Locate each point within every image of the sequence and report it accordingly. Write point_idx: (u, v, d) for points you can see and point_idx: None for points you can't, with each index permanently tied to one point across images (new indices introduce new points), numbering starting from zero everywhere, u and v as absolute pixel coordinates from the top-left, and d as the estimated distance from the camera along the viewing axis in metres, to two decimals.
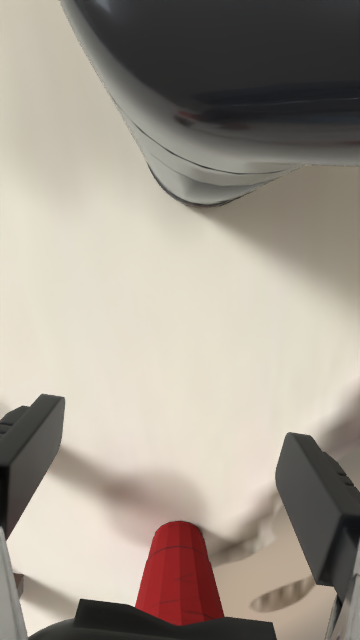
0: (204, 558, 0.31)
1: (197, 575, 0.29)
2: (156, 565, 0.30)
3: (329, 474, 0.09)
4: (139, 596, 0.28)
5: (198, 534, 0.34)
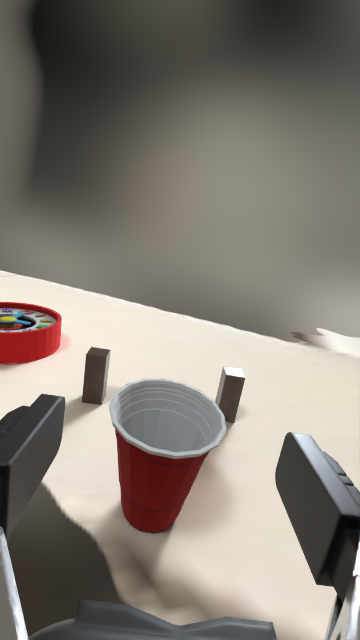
0: (183, 500, 0.29)
1: (198, 471, 0.30)
2: None
3: (329, 474, 0.09)
4: None
5: (176, 517, 0.30)
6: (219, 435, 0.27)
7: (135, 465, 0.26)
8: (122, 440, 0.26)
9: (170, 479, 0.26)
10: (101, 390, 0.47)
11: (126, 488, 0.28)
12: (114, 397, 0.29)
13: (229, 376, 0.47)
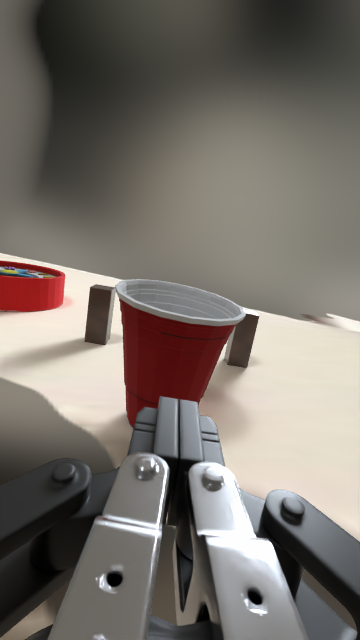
0: (197, 399, 0.26)
1: (213, 369, 0.26)
2: None
3: (192, 430, 0.10)
4: None
5: None
6: (238, 316, 0.24)
7: (144, 344, 0.23)
8: (129, 315, 0.23)
9: (183, 361, 0.23)
10: (105, 328, 0.45)
11: (133, 381, 0.25)
12: (121, 282, 0.26)
13: None
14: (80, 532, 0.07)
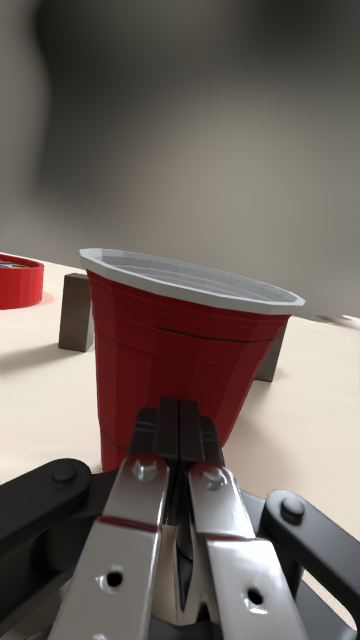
0: None
1: (246, 394, 0.16)
2: None
3: (192, 430, 0.10)
4: None
5: None
6: (297, 301, 0.13)
7: (128, 350, 0.12)
8: (101, 297, 0.13)
9: (200, 382, 0.12)
10: (85, 330, 0.34)
11: (109, 416, 0.14)
12: (92, 249, 0.16)
13: None
14: (80, 532, 0.07)
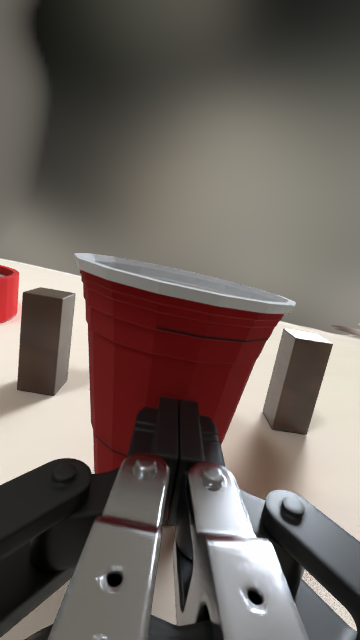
0: None
1: None
2: None
3: (192, 430, 0.10)
4: None
5: None
6: (288, 302, 0.14)
7: (126, 352, 0.12)
8: (98, 299, 0.13)
9: (199, 382, 0.12)
10: (53, 366, 0.25)
11: (105, 421, 0.14)
12: (85, 253, 0.16)
13: (302, 341, 0.24)
14: (80, 532, 0.07)
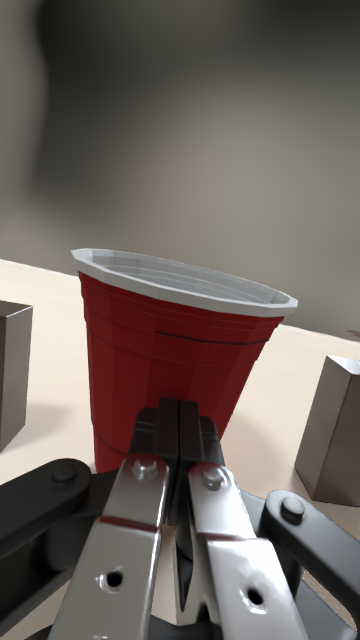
0: None
1: None
2: None
3: (192, 430, 0.10)
4: None
5: None
6: (290, 301, 0.14)
7: (125, 354, 0.12)
8: (96, 301, 0.12)
9: (198, 384, 0.12)
10: None
11: (105, 421, 0.14)
12: (82, 249, 0.15)
13: None
14: (80, 532, 0.07)
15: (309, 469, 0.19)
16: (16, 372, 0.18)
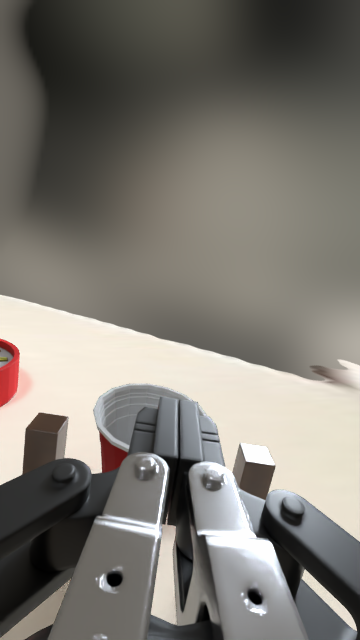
0: None
1: None
2: None
3: (192, 430, 0.10)
4: None
5: None
6: None
7: None
8: (107, 444, 0.26)
9: None
10: None
11: None
12: (98, 401, 0.29)
13: (251, 464, 0.30)
14: (80, 532, 0.07)
15: None
16: (59, 457, 0.31)
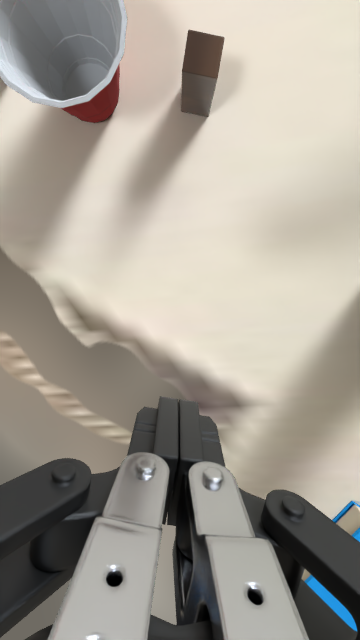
0: (109, 104, 0.30)
1: (116, 80, 0.28)
2: None
3: (192, 430, 0.10)
4: (88, 3, 0.26)
5: (112, 110, 0.33)
6: (113, 65, 0.23)
7: (39, 94, 0.26)
8: None
9: (78, 107, 0.27)
10: None
11: None
12: None
13: (188, 74, 0.26)
14: (80, 532, 0.07)
15: None
16: None
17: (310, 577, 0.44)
